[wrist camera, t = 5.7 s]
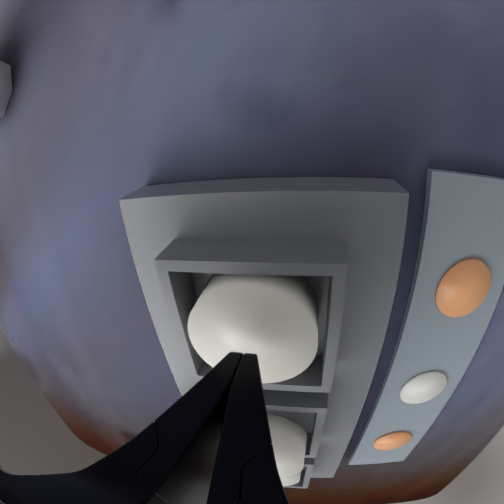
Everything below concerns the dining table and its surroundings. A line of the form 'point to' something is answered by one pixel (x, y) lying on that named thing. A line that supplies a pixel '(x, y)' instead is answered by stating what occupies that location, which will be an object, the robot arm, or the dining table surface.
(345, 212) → the button board
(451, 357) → the pattern card
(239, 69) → the dining table surface
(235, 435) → the robot arm
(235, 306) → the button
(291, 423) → the button middle
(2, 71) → the salt shaker
